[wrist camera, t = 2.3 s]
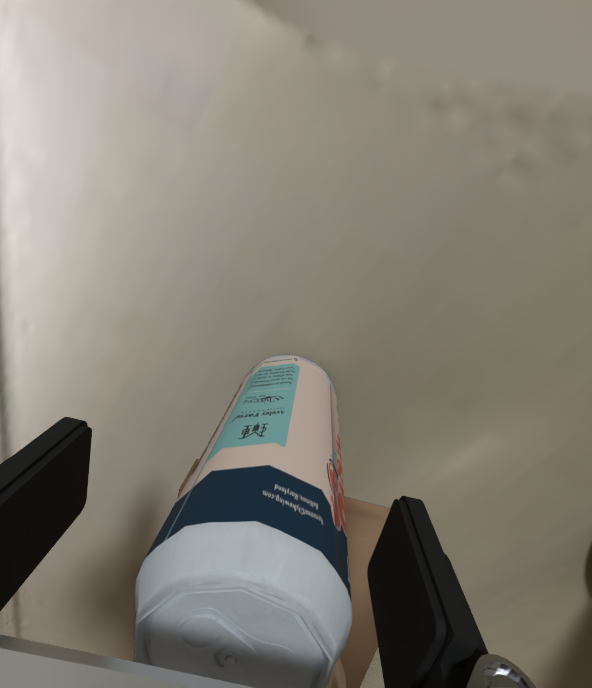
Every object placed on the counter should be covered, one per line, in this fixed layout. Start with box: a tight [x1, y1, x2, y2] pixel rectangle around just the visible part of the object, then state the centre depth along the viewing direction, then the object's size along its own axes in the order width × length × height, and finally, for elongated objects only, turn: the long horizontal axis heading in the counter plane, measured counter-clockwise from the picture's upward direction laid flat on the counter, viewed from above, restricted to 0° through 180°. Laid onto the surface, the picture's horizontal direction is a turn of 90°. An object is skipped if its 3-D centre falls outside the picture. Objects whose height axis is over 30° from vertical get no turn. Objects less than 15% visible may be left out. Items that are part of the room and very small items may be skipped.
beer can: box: [134, 355, 352, 688], centre depth 13 cm, size 5×5×12 cm
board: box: [178, 459, 390, 688], centre depth 20 cm, size 12×18×6 cm, turn 166°
